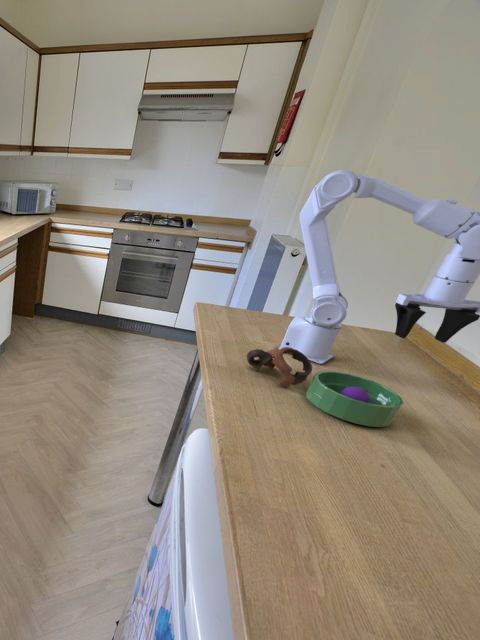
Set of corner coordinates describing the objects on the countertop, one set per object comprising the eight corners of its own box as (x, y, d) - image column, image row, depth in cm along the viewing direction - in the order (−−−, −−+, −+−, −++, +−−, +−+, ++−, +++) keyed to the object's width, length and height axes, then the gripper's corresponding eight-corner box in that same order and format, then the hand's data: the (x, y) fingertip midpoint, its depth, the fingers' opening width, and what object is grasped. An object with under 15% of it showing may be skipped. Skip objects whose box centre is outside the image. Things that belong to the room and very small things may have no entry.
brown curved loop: (282, 369, 97) (312, 351, 90) (288, 402, 92) (320, 385, 85) (234, 351, 98) (260, 331, 91) (236, 383, 92) (264, 365, 85)
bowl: (294, 402, 83) (304, 381, 81) (318, 385, 90) (328, 365, 88) (378, 438, 74) (392, 415, 71) (398, 415, 80) (411, 394, 78)
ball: (327, 398, 83) (341, 382, 80) (347, 398, 84) (361, 381, 81) (346, 414, 80) (360, 398, 77) (366, 414, 80) (382, 398, 77)
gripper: (478, 277, 86) (443, 335, 92) (399, 270, 89) (370, 327, 95) (510, 287, 80) (470, 348, 86) (425, 279, 83) (391, 339, 88)
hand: (419, 338), depth 90 cm, fingers open, 7 cm apart
